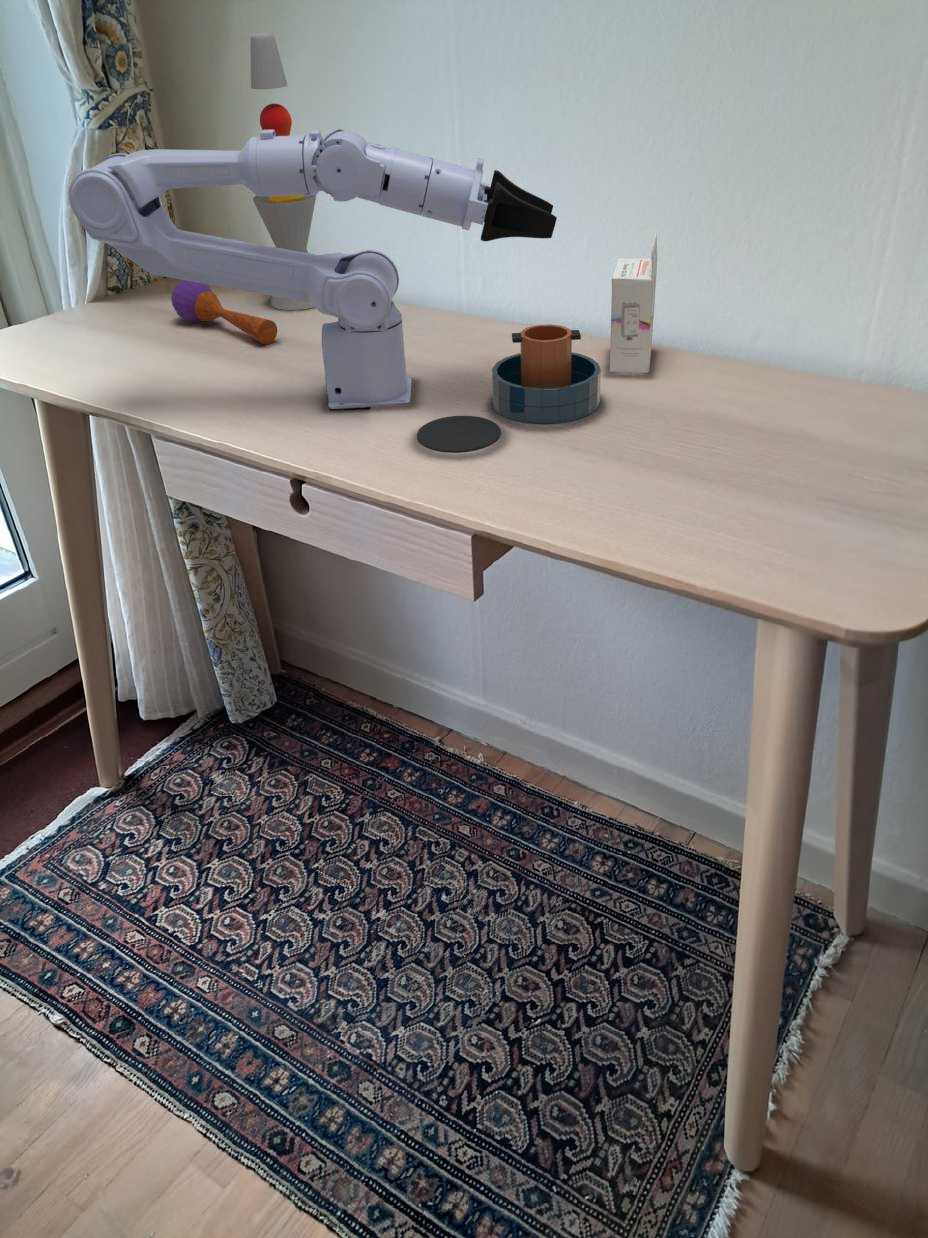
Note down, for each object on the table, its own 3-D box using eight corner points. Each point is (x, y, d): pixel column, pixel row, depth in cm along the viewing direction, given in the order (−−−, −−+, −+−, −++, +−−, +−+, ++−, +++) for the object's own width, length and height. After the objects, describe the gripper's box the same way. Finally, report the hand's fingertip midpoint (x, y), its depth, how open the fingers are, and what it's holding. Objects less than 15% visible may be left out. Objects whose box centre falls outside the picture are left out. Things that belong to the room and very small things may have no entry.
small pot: (514, 413, 109) (513, 342, 105) (511, 394, 114) (510, 326, 109) (581, 410, 109) (582, 339, 105) (575, 391, 114) (577, 322, 109)
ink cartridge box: (612, 351, 125) (617, 231, 117) (651, 352, 125) (659, 231, 116) (607, 376, 119) (611, 250, 110) (648, 377, 118) (656, 250, 109)
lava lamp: (341, 298, 149) (310, 30, 129) (294, 314, 144) (254, 37, 124) (303, 288, 154) (268, 29, 134) (257, 303, 149) (213, 35, 129)
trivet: (416, 459, 102) (416, 452, 102) (418, 424, 110) (417, 417, 109) (503, 455, 102) (502, 448, 102) (498, 420, 109) (498, 413, 109)
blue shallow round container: (495, 431, 107) (494, 392, 104) (490, 389, 117) (489, 352, 114) (605, 426, 107) (607, 386, 104) (591, 384, 117) (592, 347, 114)
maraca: (244, 322, 129) (157, 284, 140) (256, 361, 133) (171, 322, 144) (278, 302, 132) (191, 267, 142) (289, 341, 136) (203, 304, 147)
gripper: (432, 154, 95) (567, 191, 97) (440, 139, 108) (559, 172, 109) (417, 229, 99) (547, 264, 100) (426, 206, 111) (541, 237, 113)
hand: (552, 221), depth 105 cm, fingers open, 7 cm apart
